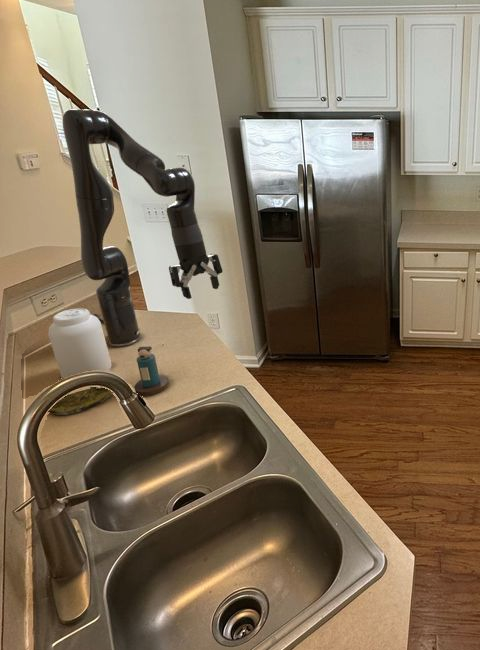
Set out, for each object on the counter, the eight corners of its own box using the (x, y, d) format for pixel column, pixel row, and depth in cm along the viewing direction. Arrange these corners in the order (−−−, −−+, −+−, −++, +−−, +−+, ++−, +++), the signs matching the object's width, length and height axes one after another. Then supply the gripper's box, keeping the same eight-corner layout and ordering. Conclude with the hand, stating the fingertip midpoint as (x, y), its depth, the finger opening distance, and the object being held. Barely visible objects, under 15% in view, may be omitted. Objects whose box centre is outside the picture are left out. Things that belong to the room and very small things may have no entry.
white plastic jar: (106, 357, 139) (91, 300, 132) (117, 372, 131) (101, 313, 124) (59, 371, 131) (40, 312, 124) (66, 389, 123) (46, 327, 116)
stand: (131, 387, 124) (130, 382, 124) (162, 375, 130) (162, 371, 130) (141, 400, 119) (140, 395, 118) (173, 387, 125) (172, 383, 124)
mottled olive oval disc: (49, 425, 110) (117, 401, 119) (44, 412, 108) (113, 388, 117) (45, 405, 116) (110, 383, 125) (40, 391, 114) (106, 371, 123)
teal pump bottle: (146, 378, 126) (138, 345, 122) (162, 378, 126) (155, 344, 122) (139, 387, 122) (131, 353, 118) (156, 387, 122) (148, 352, 118)
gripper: (205, 233, 130) (217, 284, 135) (157, 245, 119) (172, 299, 125) (218, 235, 126) (230, 287, 131) (169, 248, 115) (185, 303, 121)
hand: (202, 293), depth 128 cm, fingers open, 8 cm apart
